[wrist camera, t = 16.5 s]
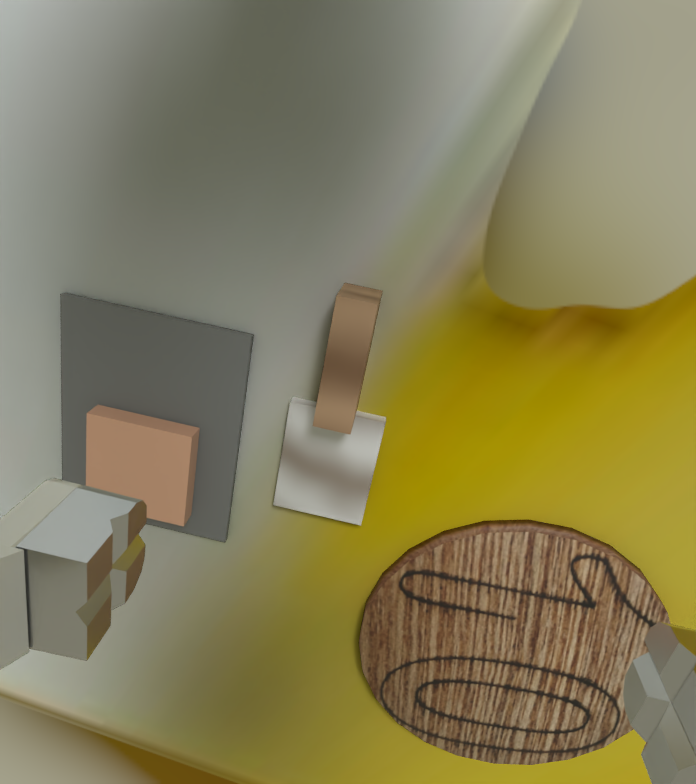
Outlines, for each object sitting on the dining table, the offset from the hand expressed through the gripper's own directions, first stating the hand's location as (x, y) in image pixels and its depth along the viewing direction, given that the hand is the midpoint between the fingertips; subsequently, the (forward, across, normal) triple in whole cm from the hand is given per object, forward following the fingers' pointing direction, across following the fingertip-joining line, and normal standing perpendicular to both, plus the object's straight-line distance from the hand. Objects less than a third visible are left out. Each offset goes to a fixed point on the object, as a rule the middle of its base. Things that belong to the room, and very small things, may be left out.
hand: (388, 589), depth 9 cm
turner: (+30, +3, +11) cm, 32 cm away
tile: (+29, +17, +15) cm, 37 cm away
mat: (+30, +17, +16) cm, 38 cm away
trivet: (+30, -15, +29) cm, 45 cm away
